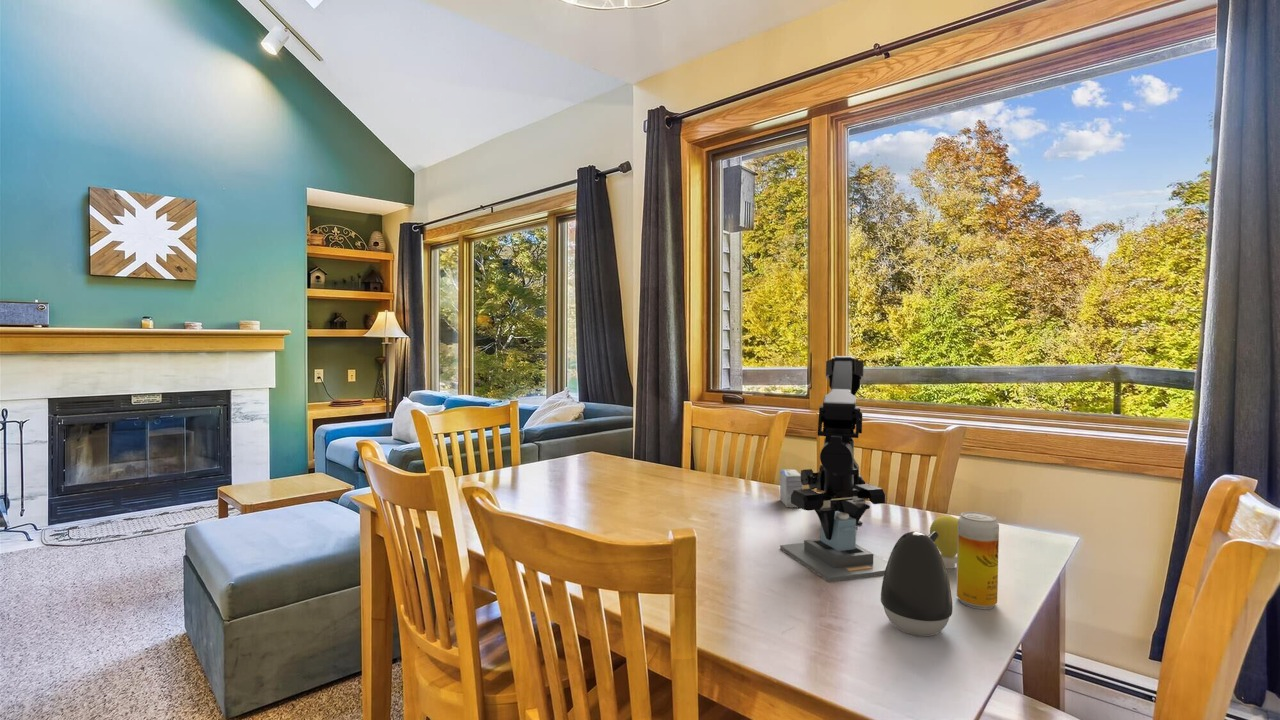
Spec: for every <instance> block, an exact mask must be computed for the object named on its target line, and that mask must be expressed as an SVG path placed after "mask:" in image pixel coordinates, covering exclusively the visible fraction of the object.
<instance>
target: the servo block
mask: <svg viewBox="0 0 1280 720" xmlns="http://www.w3.org/2000/svg"><path fill="white" fill-rule="evenodd" d="M856 526H857V525H856V519H854V518H852V517H850V516H849V514H848V513H843V512H839V511H835V516H834V524H833V532H832V537H831V540H828V539H826V536H825V533H824V531H823V528H822V525H821V524H820V538H821V541H822V542H823V543H825V544H827V545H828V546H830V547H832V548H834V549H835V550H837V551H843V550H852V549H856V544H857V543H856V539H857V538H856V537H857V536H856V533H857V532H856V531H857V530H858V527H856Z"/></svg>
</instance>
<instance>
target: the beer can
mask: <svg viewBox="0 0 1280 720" xmlns="http://www.w3.org/2000/svg"><path fill="white" fill-rule="evenodd" d="M957 519H958V546H957V554H956V556H957V563H956V596H957V598H958V599H959V601H960V602H961V604H964V605H965V606H967V607H970V608H974V609H978V610H991V609H993V607H994V606H995V605H997V604H998V589H999V588H998V585H999V583H998V582H999V548H1000V547H999V545H1000V544H999V542H1000V539H999V537H1000V534H999V533H1000V524H999V523H998V520H997V517H996V516H994V515H992V514H989V513H985V512H980V511H963V512H961V513H960V515H959V517H958V518H957Z"/></svg>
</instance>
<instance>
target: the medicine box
mask: <svg viewBox="0 0 1280 720" xmlns="http://www.w3.org/2000/svg"><path fill="white" fill-rule="evenodd" d="M779 472H780V473H779V483H780V484H779V497H780V498H779V500H780V501H781V502H782V503H783V505H784V506H785V507H786V508H787V507H797V506H796V505H794V504H792V503H791V494H792V492H793V491H794V490H800V489H803V485H802V483H801V473H799V472H798V470H796V469H780V471H779Z"/></svg>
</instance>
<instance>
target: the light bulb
mask: <svg viewBox="0 0 1280 720" xmlns="http://www.w3.org/2000/svg"><path fill="white" fill-rule="evenodd" d="M958 519H959V518H957V517H956V516H951V515H941V516H939V517H936V518H935V519H934V520H933V521H932V522H931V525H930V527H929V534H930V533H932V532H933V531H935V532H937V533H938V538H937V539H936V540H935V542H934V543H935V545H936V546H937V548H938V550H939V552H940V554H941V557H942V559H943V562H944V565H945V568H946V569H955V566H956V564H957V546H958Z"/></svg>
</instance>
